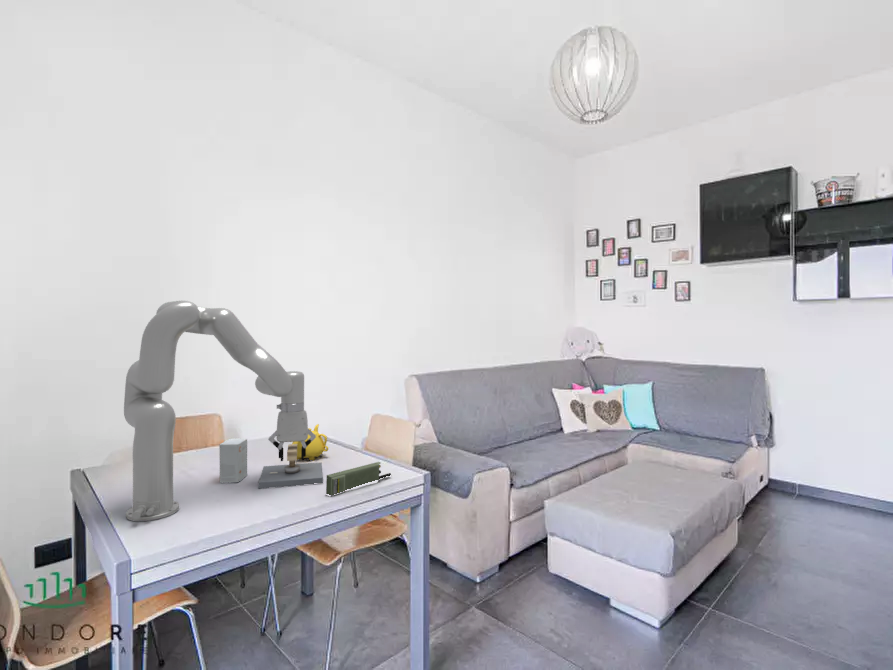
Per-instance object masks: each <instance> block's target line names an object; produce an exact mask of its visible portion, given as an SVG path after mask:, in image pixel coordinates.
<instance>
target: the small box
mask: <svg viewBox="0 0 893 670" xmlns="http://www.w3.org/2000/svg"><path fill="white" fill-rule="evenodd" d="M245 476H246V477H247V476H248V438H228V439H227V440H224V441H223V442H222V443H220V444H219V484H232V483H231V482H239V481H240V482H241V481H243V479H244V477H245ZM246 477H245V478H246ZM222 482H223V483H222ZM228 482H229V483H228ZM240 482H239V483H240Z"/></svg>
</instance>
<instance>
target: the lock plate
mask: <svg viewBox="0 0 893 670" xmlns="http://www.w3.org/2000/svg"><path fill="white" fill-rule="evenodd" d="M295 464H296V465H300V471H299V472H296V473H285V466H287V465H288V464H279V465H277V464H276V465H264V466H263V467H262V470H261V474H260V477H259V480H258V482H257V483H258V487H257V489H258V488H263V489H270V488H269V487H275V488H284V486H288V487H297V486H296V485H300V486H305V485H304V484H313V485H315V484H314V483H323V484H324V474H323V465H322V464H323V463H322V462H309V463H306V462H305V463H295Z"/></svg>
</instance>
